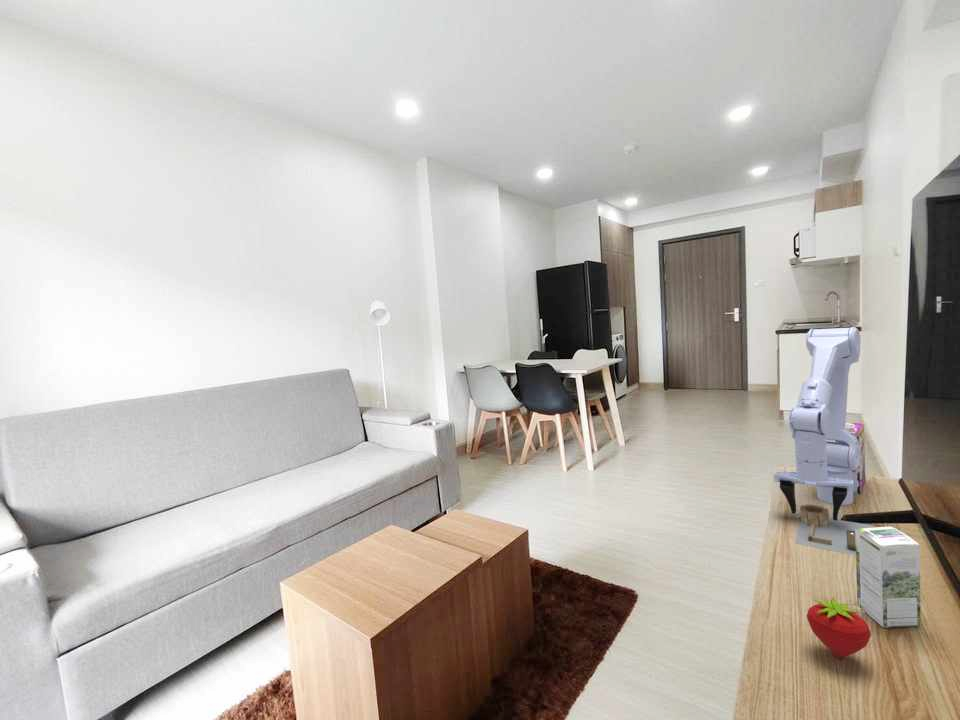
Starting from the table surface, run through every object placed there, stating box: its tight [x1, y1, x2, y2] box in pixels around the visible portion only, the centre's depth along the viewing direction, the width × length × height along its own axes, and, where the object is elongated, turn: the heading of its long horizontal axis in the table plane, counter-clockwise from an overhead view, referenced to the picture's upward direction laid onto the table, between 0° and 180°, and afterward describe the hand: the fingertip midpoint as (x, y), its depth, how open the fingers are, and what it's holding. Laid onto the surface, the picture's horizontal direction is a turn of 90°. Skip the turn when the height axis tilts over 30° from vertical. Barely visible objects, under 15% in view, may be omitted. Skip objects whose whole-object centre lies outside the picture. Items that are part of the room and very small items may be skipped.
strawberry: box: [806, 597, 872, 659], centre depth 67 cm, size 6×8×10 cm
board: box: [794, 511, 876, 556], centre depth 97 cm, size 15×13×3 cm
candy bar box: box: [835, 422, 866, 495], centre depth 118 cm, size 11×5×16 cm, turn 134°
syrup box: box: [855, 526, 922, 629], centre depth 73 cm, size 6×6×14 cm
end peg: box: [846, 530, 856, 551], centre depth 91 cm, size 2×2×4 cm
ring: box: [799, 503, 830, 527], centre depth 103 cm, size 5×5×3 cm
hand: (814, 515), depth 103 cm, fingers open, 7 cm apart
